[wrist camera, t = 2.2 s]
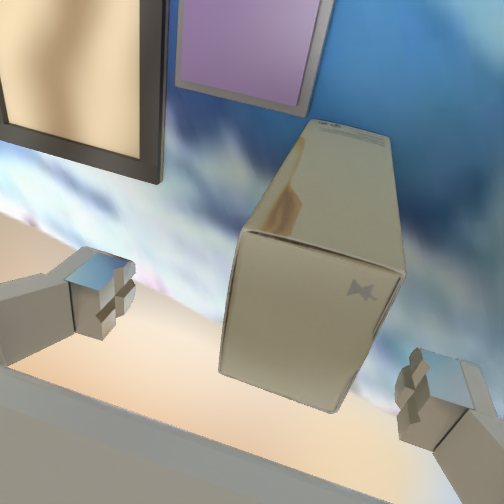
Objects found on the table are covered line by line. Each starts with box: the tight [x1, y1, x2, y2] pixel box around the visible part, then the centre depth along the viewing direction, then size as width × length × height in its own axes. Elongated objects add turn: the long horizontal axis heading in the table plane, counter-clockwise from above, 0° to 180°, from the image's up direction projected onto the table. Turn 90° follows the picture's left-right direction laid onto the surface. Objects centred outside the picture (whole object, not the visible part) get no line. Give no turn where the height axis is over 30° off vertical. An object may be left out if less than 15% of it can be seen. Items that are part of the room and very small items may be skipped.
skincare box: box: [218, 119, 406, 414], centre depth 15 cm, size 6×4×12 cm
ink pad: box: [175, 0, 336, 118], centre depth 17 cm, size 7×7×2 cm
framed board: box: [0, 0, 169, 185], centre depth 21 cm, size 12×12×1 cm
